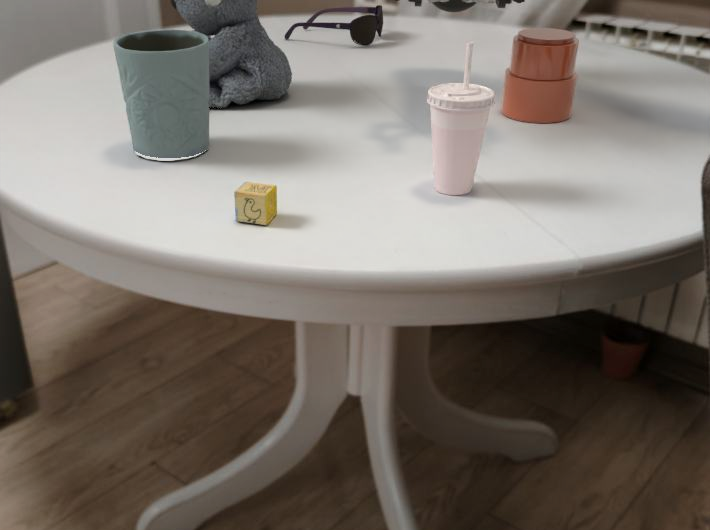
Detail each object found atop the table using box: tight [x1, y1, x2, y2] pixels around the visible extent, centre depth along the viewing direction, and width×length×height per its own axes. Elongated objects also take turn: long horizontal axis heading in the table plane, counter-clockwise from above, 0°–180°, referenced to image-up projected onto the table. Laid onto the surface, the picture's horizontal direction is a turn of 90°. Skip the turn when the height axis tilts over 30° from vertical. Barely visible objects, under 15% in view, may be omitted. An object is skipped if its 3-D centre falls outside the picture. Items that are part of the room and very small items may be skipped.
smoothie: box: [426, 41, 496, 196], centre depth 78 cm, size 6×6×14 cm
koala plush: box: [169, 0, 293, 109], centre depth 105 cm, size 17×18×20 cm
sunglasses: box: [284, 4, 384, 47], centre depth 138 cm, size 14×16×5 cm
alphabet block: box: [233, 181, 278, 226], centre depth 74 cm, size 3×3×3 cm
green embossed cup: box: [112, 28, 210, 158], centre depth 88 cm, size 10×10×12 cm
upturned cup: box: [500, 27, 580, 124], centre depth 100 cm, size 9×9×10 cm
